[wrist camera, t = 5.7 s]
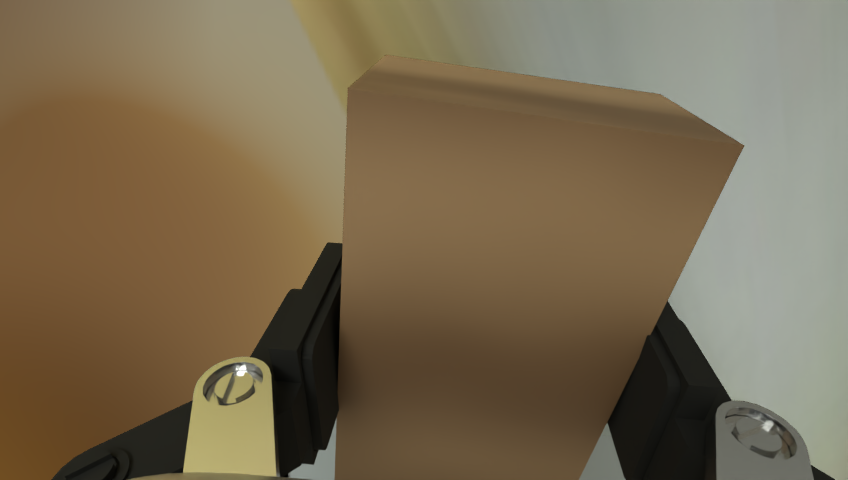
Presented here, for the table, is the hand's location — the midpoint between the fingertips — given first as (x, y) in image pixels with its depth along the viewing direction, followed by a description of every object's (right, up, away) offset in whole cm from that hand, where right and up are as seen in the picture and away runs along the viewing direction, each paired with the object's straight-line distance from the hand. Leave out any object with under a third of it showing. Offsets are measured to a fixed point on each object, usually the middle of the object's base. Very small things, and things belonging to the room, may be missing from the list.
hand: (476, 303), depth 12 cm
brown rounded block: (0, +1, +1) cm, 1 cm away
